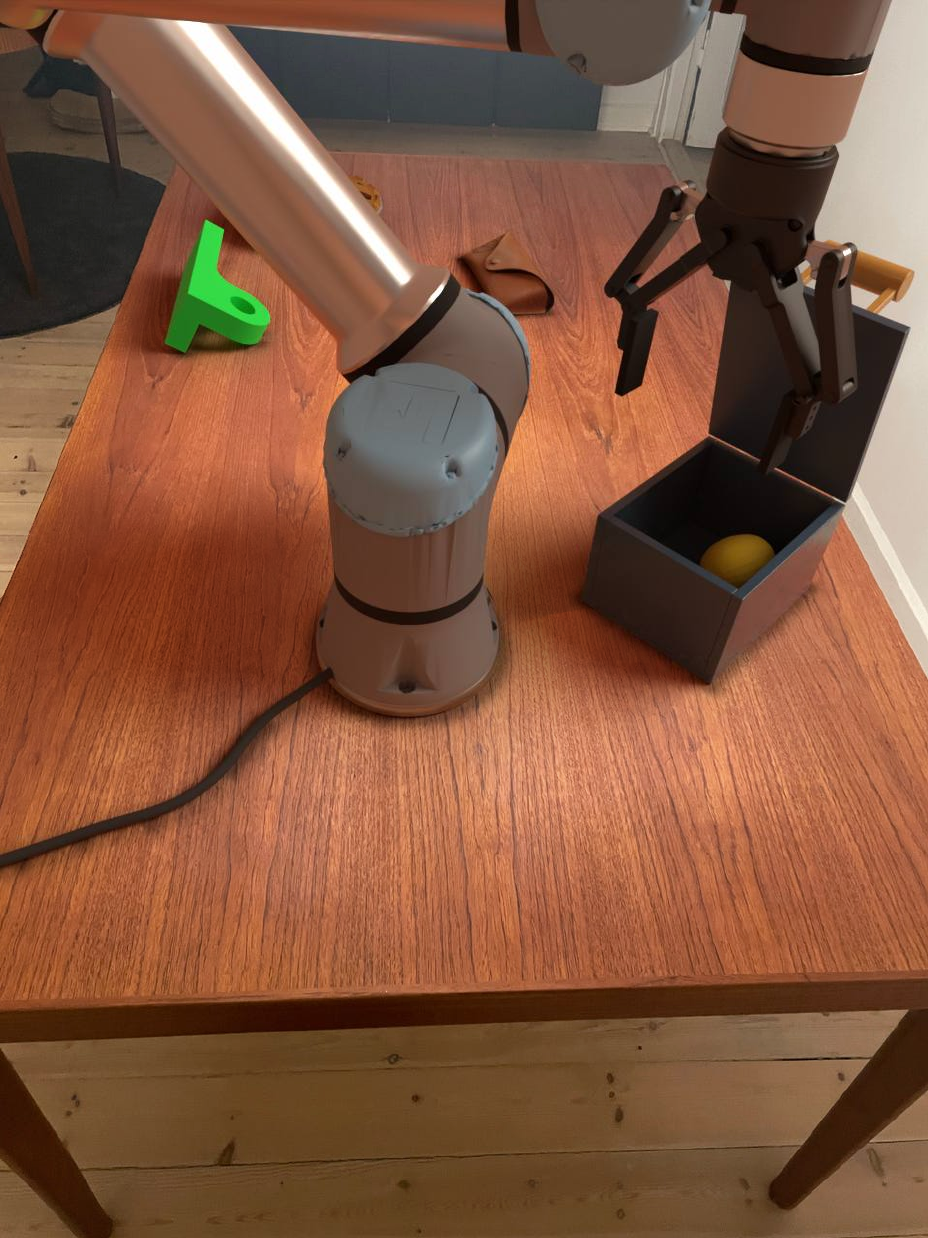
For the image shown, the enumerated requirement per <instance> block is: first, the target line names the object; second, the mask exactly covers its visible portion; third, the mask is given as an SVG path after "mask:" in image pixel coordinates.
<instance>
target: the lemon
mask: <svg viewBox="0 0 928 1238" xmlns="http://www.w3.org/2000/svg"><path fill="white" fill-rule="evenodd" d="M774 557H775V553H774V550H773V548H772V547H771V546H770V544H769V543H768V542H766V541H765V540H764V539H762V538H760V537H759V536H755V535H751V534H741V535H734V536H729V537H726V538H724V539H722V540H720V541H718V542H716V543H715V544H713V545H712V546H711V547H710V548H709V549H708V550H707V551H706V552H705V554H704V555H703V557H702V559H701V561H700V565H699V566H700V567H702V568H703V569H705V570H707V571H708V572H710V573H712V574H713V575H715V576H717V577H719V578H720V579H722V580H724V581H725V582H727V583H729V584H731V585H732V586H734V587H736V588H737V589H739V588H740V587H742V586H743V585H744V584H745V583H746V582H747V581H748V580H749V579H750V578H752V577H753V576H754V575H755V574H756V573H757V572H758V571H759V570H760V569H761V568H763V567H764V566H765V565H766V564H767V563H768V562H769V561H770V560H771V559H773V558H774Z"/></svg>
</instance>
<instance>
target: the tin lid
mask: <svg viewBox="0 0 928 1238" xmlns="http://www.w3.org/2000/svg"><path fill="white" fill-rule="evenodd" d="M823 242H824V243H827V244H831V245H835V246H841V245H842V244H843V243H839V242H837V241H834V240H831V239H826V240H825V241H823ZM857 250H858V253H857V258H856V262H855V265H854V269H853V273H852V277H851V280H850V282H851V286H852V287H855V288H858V289H860V290H863V291H866V292H869V293H871V294H873V295H877V296H878V297H876V299H875V300H874V301H873V302H872V303H871V304H870V305H868V307H867V308H863V307H860V306H858V305H855V304H853V303H852V310H853V325H854V339H855V354H856V368H857V382H858V385H857V389H856V391H854V392H853V393H851V394H850V395H849V396H847V397H846V398H844V399H843V400H842V401H840V402H839V403H837V404H836V405H829V404H827V403H826V402H824V401H821V403H820V406H819V408H818V411H817V413H816V416H815V418H814V421H813V423H812V426H811V428H810V429H809V430H808V431H807V432H806V433H805V434H804V435H802V436H801V437H799V438H798V439H797V440H794V439H793V440H792V443H791V445H790V448H789V450H788V453H787V455H786V458H785V461H784V462H783V463H782V464H780V465H779V466H777V467H776V468H775V469H776V470H778V471H780V472H782V473H784V474H786V475H788V476H790V477H792V478H794V479H796V480H798V481H800V482H802V483H804V484H806V485H808V486H810V487H812V488H814V489H816V490H818V491H820V492H822V493H824V494H826V495H828V496H830V497H831V498H833V499H835V500H837V501H838V500H839V502H841V503H843V504H846V503H847V502H848V501H849V500H850V499H851V497H852V494H853V492H854V490H855V486H856V483H857V480H858V478H859V475H860V472H861V470H862V467H863V464H864V460H865V458H866V455H867V452H868V450H869V446H870V444H871V441H872V439H873V436H874V433H875V430H876V428H877V424H878V421H879V419H880V416H881V414H882V411H883V407H884V404H885V401H886V400H887V396H888V393H889V390H890V388H891V385H892V382H893V379H894V377H895V374H896V371H897V368H898V365H899V362H900V359H901V356H902V354H903V352H904V348H905V345H906V342H907V340H908V337H909V334H910V331H911V329H912V328H911V326H910V325H906V324H904V323H901V322H898V321H896V320H893V319H890V318H889V317H885V316H883V315H881V314H879V313H881V312H882V311H883V310H884V309H885V308H886V307H887V305H889V303H891V302H895V303H899V302H900V301H901V300H902V299H903V298H904V297H905V295H906V294H907V292H908V290H909V289H910V288H911V285H912V283H913V280H914V277H915V270H914V269H911V268H908V267H905V266H902V265H900V264H898V263H895V262H892V261H889V260H886V259H883V258H881V257H878V256H876V255H873V254H870V253H868V252H864V251H863V250H859V249H857ZM800 273H801V277H802V280H803V283H804V291H803V297H804V300H805V303H806V306H807V309H808V312H809V315H810V318H811V322H812V325H813V328H814V331H815V334H816V337H817V340H818V334H817V322H816V311H815V297H814V292H815V288H812V287H809V286H807V285H808V284H809V283H810V282H812V280H813V279H812V278H811V277H810V273H811V265H810V264H809V266H808V267H807V268H805V270H803V271H802V272H800ZM777 285H778V288H779V289H781V288H782V282H781V279H780V280H778V281H777ZM725 311H726V312H725V317H724V324H723V331H722V336H721V337H722V338H721V343H720V350H719V356H718V357H719V358H718V364H717V370H716V377H715V383H714V390H713V397H712V404H711V410H710V418H709V425H708V431H707V434H708V435H709V436H711V437H713V438H715V439H717V440H719V441H721V442H723V443H725V444H727V445H729V446H731V447H733V448H735V449H737V450H739V451H741V452H743V453H745V454H747V455H748V456H750V457H752V458H754V459H756V460H758V461H760V459H761V457H762V454H763V451H764V448H765V446H766V443H767V440H768V437H769V435H770V432H771V429H772V426H773V423H774V421H775V418H776V415H777V412H778V410H779V407H780V404H781V401H782V399H783V396H784V395H785V394H786V393H788V392H789V391H791V390H792V389H794V385H793V382H792V379H791V376H790V373H789V370H788V367H787V364H786V361H785V358H784V355H783V352H782V349H781V346H780V343H779V340H778V337H777V334H776V331H775V328H774V325H773V322H772V319H771V316H770V313H769V311H768V310H767V309H766V308H764V307H763V306H762V304H761V301H760V298H759V295H758V292H757V290H753V291H751V292H748V291H745V290H743V289H741V288H739V287H738V286H737V285H736V284H735V283H733V282H732V281H730V283H729V289H728V297H727V304H726V310H725Z"/></svg>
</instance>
